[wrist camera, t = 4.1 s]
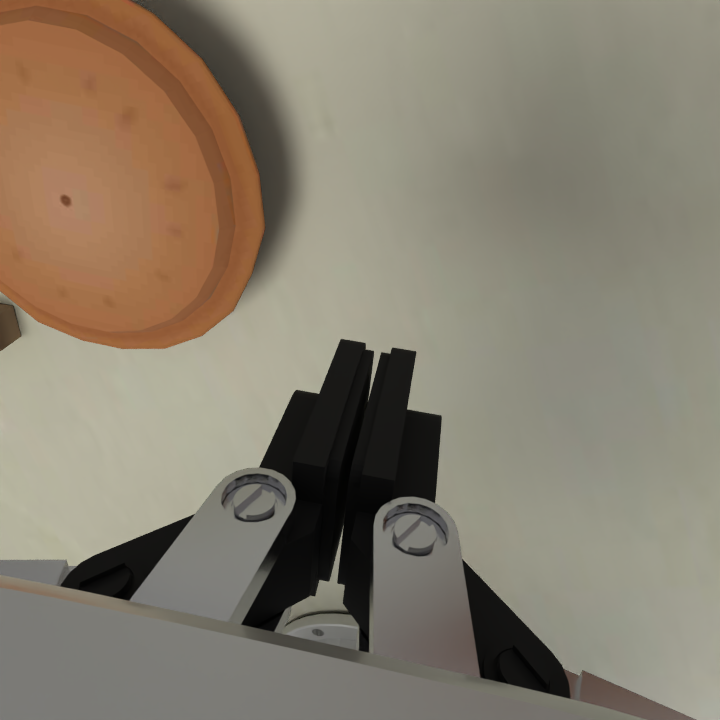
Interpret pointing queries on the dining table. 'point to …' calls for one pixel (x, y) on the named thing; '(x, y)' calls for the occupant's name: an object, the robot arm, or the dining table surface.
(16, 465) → the dining table surface
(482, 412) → the dining table surface
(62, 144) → the pie
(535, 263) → the dining table surface
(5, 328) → the corner stop
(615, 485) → the dining table surface
